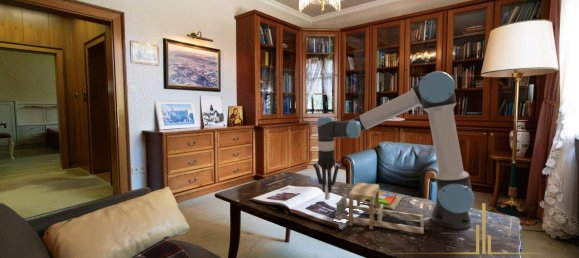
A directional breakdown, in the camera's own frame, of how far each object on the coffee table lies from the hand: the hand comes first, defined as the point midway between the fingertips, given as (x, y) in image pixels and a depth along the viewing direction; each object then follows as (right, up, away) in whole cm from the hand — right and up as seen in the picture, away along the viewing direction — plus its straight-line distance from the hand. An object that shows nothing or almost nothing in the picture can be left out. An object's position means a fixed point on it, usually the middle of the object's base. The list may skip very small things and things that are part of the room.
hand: (327, 198), depth 133 cm
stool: (+16, -8, -7) cm, 19 cm away
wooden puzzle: (+31, -6, +16) cm, 35 cm away
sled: (+22, -7, -9) cm, 25 cm away
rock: (+28, -8, -13) cm, 32 cm away
